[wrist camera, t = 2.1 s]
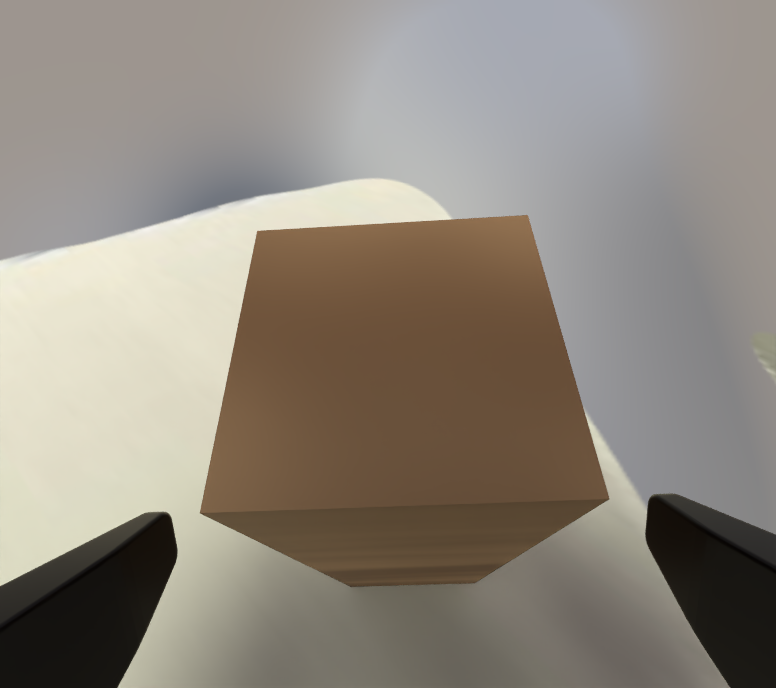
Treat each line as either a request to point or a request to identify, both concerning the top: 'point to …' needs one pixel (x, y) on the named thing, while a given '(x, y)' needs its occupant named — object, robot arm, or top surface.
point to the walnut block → (401, 403)
